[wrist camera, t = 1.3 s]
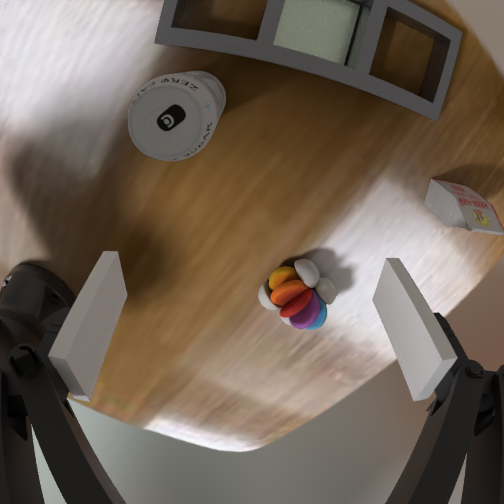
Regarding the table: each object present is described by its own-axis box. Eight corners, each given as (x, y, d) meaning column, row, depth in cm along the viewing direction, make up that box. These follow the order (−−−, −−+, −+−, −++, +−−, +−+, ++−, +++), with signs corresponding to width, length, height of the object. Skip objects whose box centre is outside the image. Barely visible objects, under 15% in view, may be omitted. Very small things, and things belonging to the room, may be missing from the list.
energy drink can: (157, 94, 30) (100, 119, 17) (203, 59, 28) (173, 55, 16) (192, 136, 33) (159, 187, 20) (238, 103, 31) (234, 131, 18)
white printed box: (460, 209, 38) (500, 248, 30) (423, 204, 38) (463, 244, 29) (467, 186, 36) (511, 221, 28) (431, 178, 36) (474, 214, 27)
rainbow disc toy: (299, 244, 41) (308, 279, 35) (340, 286, 45) (353, 323, 39) (249, 281, 44) (250, 319, 38) (293, 317, 48) (299, 355, 42)
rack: (162, 45, 27) (154, 43, 24) (188, -49, 21) (182, -60, 18) (421, 115, 31) (436, 121, 28) (445, 32, 25) (462, 32, 22)
